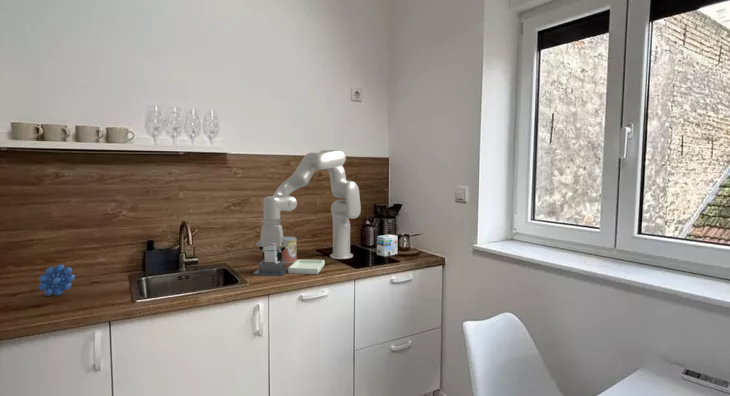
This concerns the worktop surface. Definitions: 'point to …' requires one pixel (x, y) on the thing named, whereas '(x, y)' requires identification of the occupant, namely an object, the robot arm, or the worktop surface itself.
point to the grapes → (56, 280)
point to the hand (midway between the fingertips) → (272, 260)
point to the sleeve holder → (272, 268)
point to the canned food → (290, 250)
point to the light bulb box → (387, 245)
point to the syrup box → (271, 254)
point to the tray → (306, 266)
